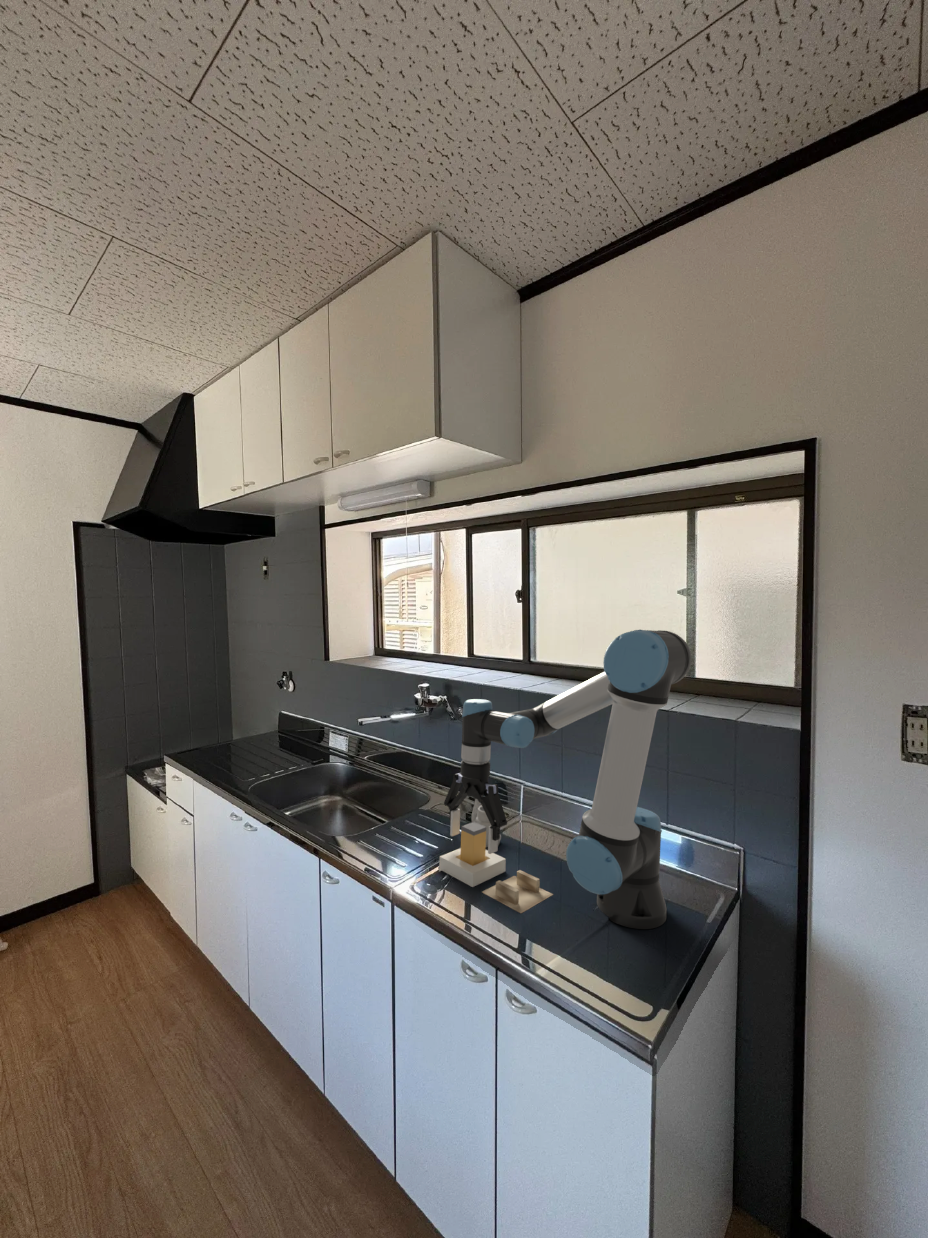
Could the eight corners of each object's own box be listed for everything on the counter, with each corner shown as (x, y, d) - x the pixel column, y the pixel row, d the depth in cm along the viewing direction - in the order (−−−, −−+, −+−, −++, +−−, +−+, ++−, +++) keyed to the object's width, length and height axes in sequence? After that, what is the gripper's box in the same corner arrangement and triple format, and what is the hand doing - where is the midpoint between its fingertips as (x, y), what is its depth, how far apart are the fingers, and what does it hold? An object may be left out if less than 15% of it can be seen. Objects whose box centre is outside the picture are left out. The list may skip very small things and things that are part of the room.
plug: (484, 873, 135) (486, 827, 135) (472, 879, 132) (473, 831, 132) (472, 867, 139) (473, 822, 139) (459, 873, 135) (461, 826, 135)
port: (505, 874, 135) (505, 858, 135) (472, 890, 127) (472, 873, 127) (471, 858, 144) (472, 843, 144) (439, 872, 136) (439, 856, 136)
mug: (484, 850, 149) (486, 808, 149) (461, 835, 159) (463, 795, 159) (506, 844, 153) (507, 803, 153) (482, 830, 163) (483, 791, 163)
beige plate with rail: (553, 898, 125) (553, 881, 125) (520, 917, 116) (521, 899, 116) (514, 878, 133) (514, 863, 133) (481, 895, 125) (482, 879, 125)
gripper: (523, 768, 129) (520, 855, 129) (452, 748, 147) (450, 824, 147) (502, 774, 124) (499, 865, 124) (432, 752, 142) (430, 831, 142)
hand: (473, 843), depth 135 cm, fingers open, 13 cm apart
